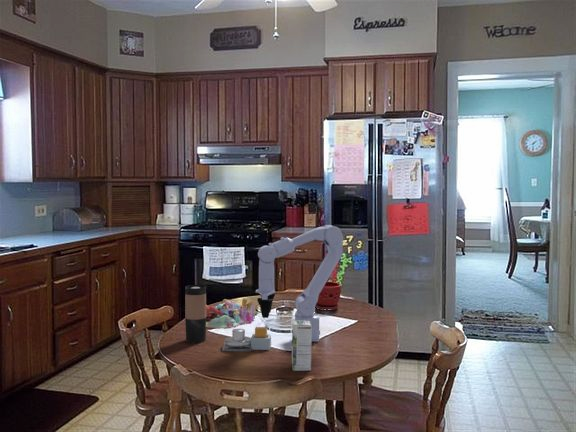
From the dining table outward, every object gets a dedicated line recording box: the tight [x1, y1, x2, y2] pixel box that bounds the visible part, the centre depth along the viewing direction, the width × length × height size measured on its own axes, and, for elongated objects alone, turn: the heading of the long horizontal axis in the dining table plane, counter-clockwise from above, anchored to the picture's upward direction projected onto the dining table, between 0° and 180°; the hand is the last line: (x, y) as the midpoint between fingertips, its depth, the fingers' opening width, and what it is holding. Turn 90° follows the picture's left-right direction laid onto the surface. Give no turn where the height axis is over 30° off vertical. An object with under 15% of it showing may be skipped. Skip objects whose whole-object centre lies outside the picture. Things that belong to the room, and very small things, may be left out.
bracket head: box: [250, 333, 272, 351], centre depth 189 cm, size 7×13×4 cm, turn 177°
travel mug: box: [184, 284, 207, 344], centre depth 193 cm, size 8×8×20 cm
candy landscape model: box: [206, 297, 256, 329], centre depth 222 cm, size 25×24×9 cm
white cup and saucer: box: [221, 328, 253, 353], centre depth 186 cm, size 10×10×6 cm
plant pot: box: [315, 280, 342, 310], centre depth 244 cm, size 13×13×12 cm
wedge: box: [254, 326, 268, 338], centre depth 185 cm, size 2×4×7 cm, turn 86°
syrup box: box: [291, 320, 313, 372], centre depth 164 cm, size 6×6×14 cm
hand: (266, 315), depth 194 cm, fingers open, 7 cm apart
